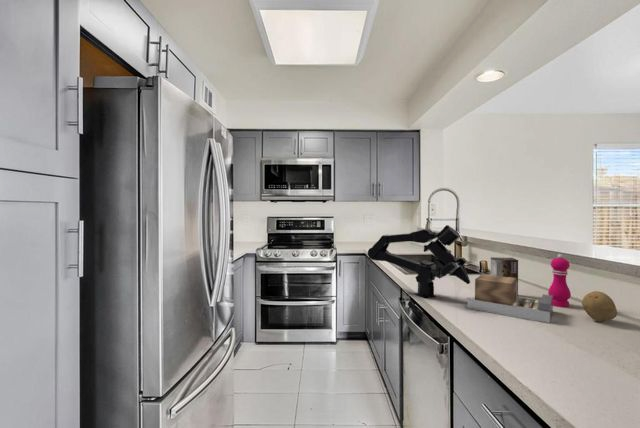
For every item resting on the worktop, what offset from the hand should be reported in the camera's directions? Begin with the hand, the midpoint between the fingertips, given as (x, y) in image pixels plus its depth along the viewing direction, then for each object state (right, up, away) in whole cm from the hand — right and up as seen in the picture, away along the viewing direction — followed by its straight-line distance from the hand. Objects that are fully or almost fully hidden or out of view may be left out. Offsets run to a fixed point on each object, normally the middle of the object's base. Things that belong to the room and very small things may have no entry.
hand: (469, 283), depth 133 cm
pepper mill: (+34, -8, -2) cm, 36 cm away
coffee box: (+20, -8, +12) cm, 25 cm away
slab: (+7, -5, -6) cm, 11 cm away
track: (+11, -8, -8) cm, 16 cm away
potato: (+34, -9, -20) cm, 41 cm away
